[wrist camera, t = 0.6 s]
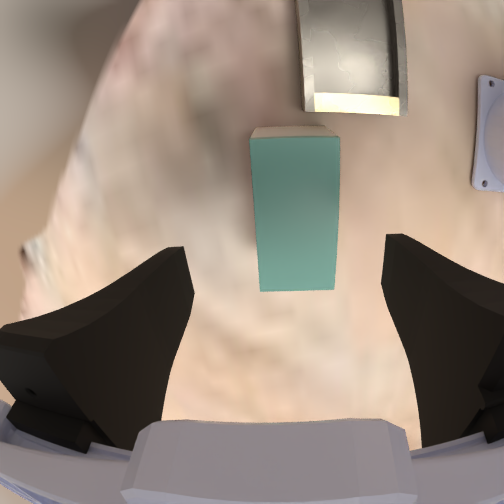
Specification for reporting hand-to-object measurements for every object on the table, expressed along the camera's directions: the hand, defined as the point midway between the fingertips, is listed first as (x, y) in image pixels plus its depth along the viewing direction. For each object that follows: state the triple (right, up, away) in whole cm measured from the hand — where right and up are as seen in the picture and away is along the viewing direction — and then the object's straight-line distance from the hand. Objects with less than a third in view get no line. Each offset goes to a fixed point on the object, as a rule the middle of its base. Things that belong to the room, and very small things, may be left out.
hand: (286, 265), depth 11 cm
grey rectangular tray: (+4, +14, +3) cm, 14 cm away
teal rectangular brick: (+1, +4, +8) cm, 10 cm away
